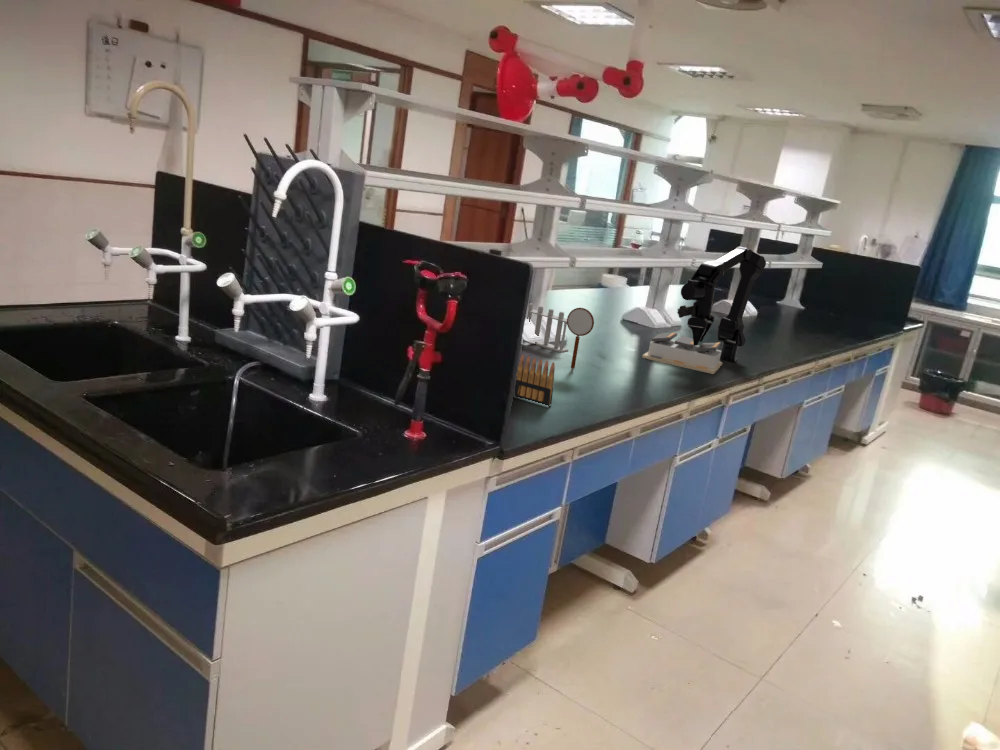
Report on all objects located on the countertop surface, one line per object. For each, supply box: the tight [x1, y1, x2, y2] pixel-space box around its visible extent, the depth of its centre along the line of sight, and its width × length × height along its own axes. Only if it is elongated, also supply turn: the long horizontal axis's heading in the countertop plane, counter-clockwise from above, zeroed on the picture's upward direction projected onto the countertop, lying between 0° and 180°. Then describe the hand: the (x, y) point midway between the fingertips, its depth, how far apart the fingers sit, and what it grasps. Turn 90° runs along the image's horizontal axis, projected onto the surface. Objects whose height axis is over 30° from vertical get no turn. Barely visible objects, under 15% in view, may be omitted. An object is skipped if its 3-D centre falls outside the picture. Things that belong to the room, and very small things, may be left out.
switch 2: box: [697, 341, 722, 351], centre depth 261 cm, size 12×6×1 cm, turn 155°
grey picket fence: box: [526, 302, 569, 354], centre depth 260 cm, size 25×4×13 cm, turn 51°
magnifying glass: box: [566, 307, 595, 372], centre depth 229 cm, size 9×2×20 cm, turn 63°
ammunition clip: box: [515, 353, 556, 406], centre depth 193 cm, size 11×2×12 cm, turn 62°
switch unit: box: [641, 339, 723, 375], centre depth 265 cm, size 18×25×6 cm
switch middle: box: [674, 335, 695, 348], centre depth 264 cm, size 12×6×1 cm, turn 155°
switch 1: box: [651, 332, 678, 342], centre depth 267 cm, size 12×6×1 cm, turn 155°
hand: (697, 343), depth 263 cm, fingers open, 9 cm apart
